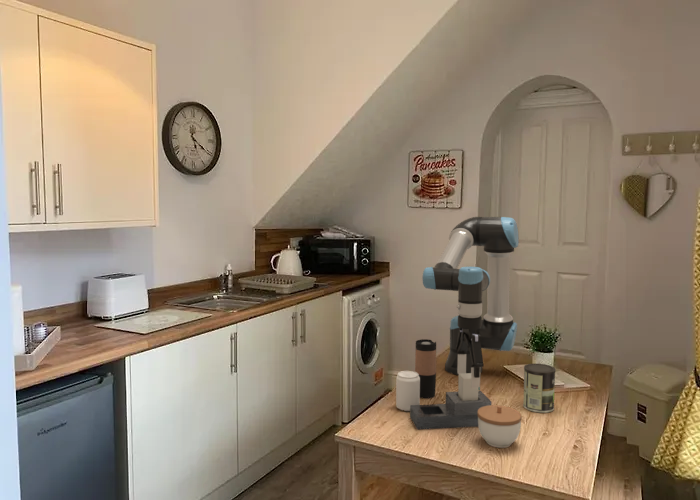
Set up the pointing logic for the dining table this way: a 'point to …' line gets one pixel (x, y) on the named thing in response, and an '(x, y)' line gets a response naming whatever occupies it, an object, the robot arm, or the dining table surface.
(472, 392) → the plug
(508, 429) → the lidded bowl
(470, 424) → the grey stepped socket block
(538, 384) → the coffee can
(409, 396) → the beverage can
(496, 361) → the dining table surface
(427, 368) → the travel mug
